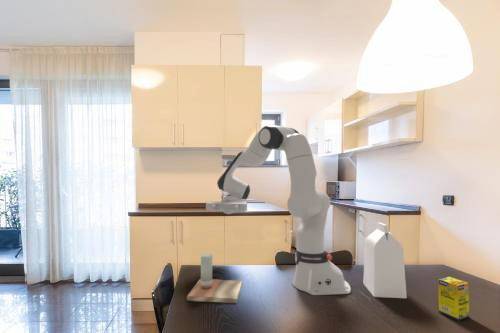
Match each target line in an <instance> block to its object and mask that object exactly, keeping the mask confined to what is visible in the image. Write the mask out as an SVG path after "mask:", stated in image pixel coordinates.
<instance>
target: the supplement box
mask: <svg viewBox="0 0 500 333" xmlns="http://www.w3.org/2000/svg"><path fill="white" fill-rule="evenodd" d="M437 284H438V286H437V287H438V288H437V289H438V313H439V314H441V313H442V315H444V316H446V317H448V318H451V319H452V320H455V321H457V322H459V321H462V320H465V319H469V318H470V297H469V296H470V295H469V282H467V281H464V280H461V279H457V278H454V277H452V276H447V277H444V278H443V277H442V278H438V283H437ZM468 317H469V318H468Z"/></svg>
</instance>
